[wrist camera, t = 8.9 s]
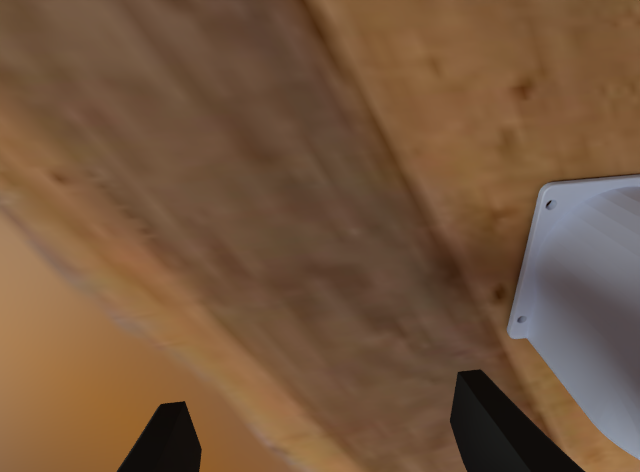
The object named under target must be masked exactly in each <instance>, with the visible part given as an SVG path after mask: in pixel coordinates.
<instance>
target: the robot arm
mask: <svg viewBox="0 0 640 472" xmlns="http://www.w3.org/2000/svg"><path fill="white" fill-rule="evenodd" d="M550 200H552V201H551V203H550V204H549V205H548V206H546V204H547V202H549V201H550ZM519 317H520V318H519ZM507 333H508V334H509V336H510V337H511V338H513V339H521V338H527V339H528V340H529V341H530V343H531V344H532V345H533V347H534V348H535V349H536V350H537V352H538V353H539V354H540V356H541V357H542V358H543V359H544V361H545V362H546V363H547V365H548V366H549V367H550V369H551V370H552V371H553V372H554V374H555V375H556V376H557V378H558V379H559V380H560V381H561V383H562V384H563V385H564V387H565V388H566V389H567V391H568V392H569V393H570V394H571V396H572V397H573V398H574V400H575V401H576V402H577V403H578V405H579V406H580V407H581V409H582V410H583V411H584V413H585V414H586V415H587V416H588V418H589V419H590V420H591V422H592V423H593V424H594V425H595V426H596V427H597V428H598V429H599V430H600V431H601V432H602V433H603V434H604V435H605V436H606V437H607V438H608V439H610V440H611V441H612V442H614V443H615V444H616V445H617V446H619V447H620V448H622V449H623V450H625V451H626V452H628V453H629V454H631V455H632V456H634V457H636V458H637V459H639V460H640V174H639V175H628V176H616V177H605V178H594V179H582V180H571V181H560V182H551V183H547V184H546V185H544V186H543V187H542V188H541V189H540V192H539V195H538V199H537V203H536V208H535V212H534V216H533V220H532V225H531V229H530V233H529V237H528V242H527V246H526V250H525V255H524V259H523V263H522V267H521V272H520V276H519V280H518V284H517V289H516V293H515V297H514V301H513V306H512V310H511V314H510V319H509V323H508V327H507ZM450 423H451V426H452V430H453V433H454V436H455V439H456V442H457V445H458V448H459V451H460V454H461V457H462V460H463V463H464V465H465V468H466V470H467V472H585V471H584V470H583V469H582V468H580V467H579V466H578V465H577V464H576V463H575V462H574V461H573V460H572V459H571V458H569V457H568V456H567V455H566V454H565V453H564V452H563V451H562V450H561V449H560V448H559V447H558V446H557V445H556V444H555V443H554V442H552V441H551V440H550V439H549V438H548V437H547V436H546V435H545V434H544V433H543V432H542V431H541V430H540V429H539V428H538V427H537V426H536V425H535V424H534V423H533V422H532V421H531V420H530V419H529V418H528V417H527V416H526V415H525V414H524V413H523V412H522V411H521V410H520V409H519V408H518V407H517V406H516V405H515V404H514V403H513V402H512V401H511V400H510V399H509V398H508V397H507V396H506V395H505V394H504V393H503V392H502V391H501V390H500V389H499V388H498V387H497V386H496V385H495V383H494V382H493V381H492V380H491V379H490V378H489V377H488V376H487V375H486V374H485V373H484V372H483V371H482V370H471V371H462V372H458V375H457V381H456V387H455V393H454V399H453V405H452V411H451V417H450ZM201 450H202V449H201V446H200V443H199V440H198V437H197V435H196V432H195V429H194V426H193V423H192V420H191V417H190V415H189V412H188V409H187V406H186V403H185V401H183V402H175V403H165V404H161V405H160V406H159V407H158V408H157V410H156V411H155V413H154V415H153V416H152V418H151V420H150V421H149V423H148V424H147V426H146V427H145V429H144V431H143V432H142V434H141V435H140V437H139V438H138V440H137V441H136V443H135V445H134V446H133V448H132V449H131V451H130V452H129V454H128V456H127V457H126V458H125V460H124V462H123V463H122V464H121V466H120V467H119V469H118V470H117V472H199V469H200V460H201Z"/></svg>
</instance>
